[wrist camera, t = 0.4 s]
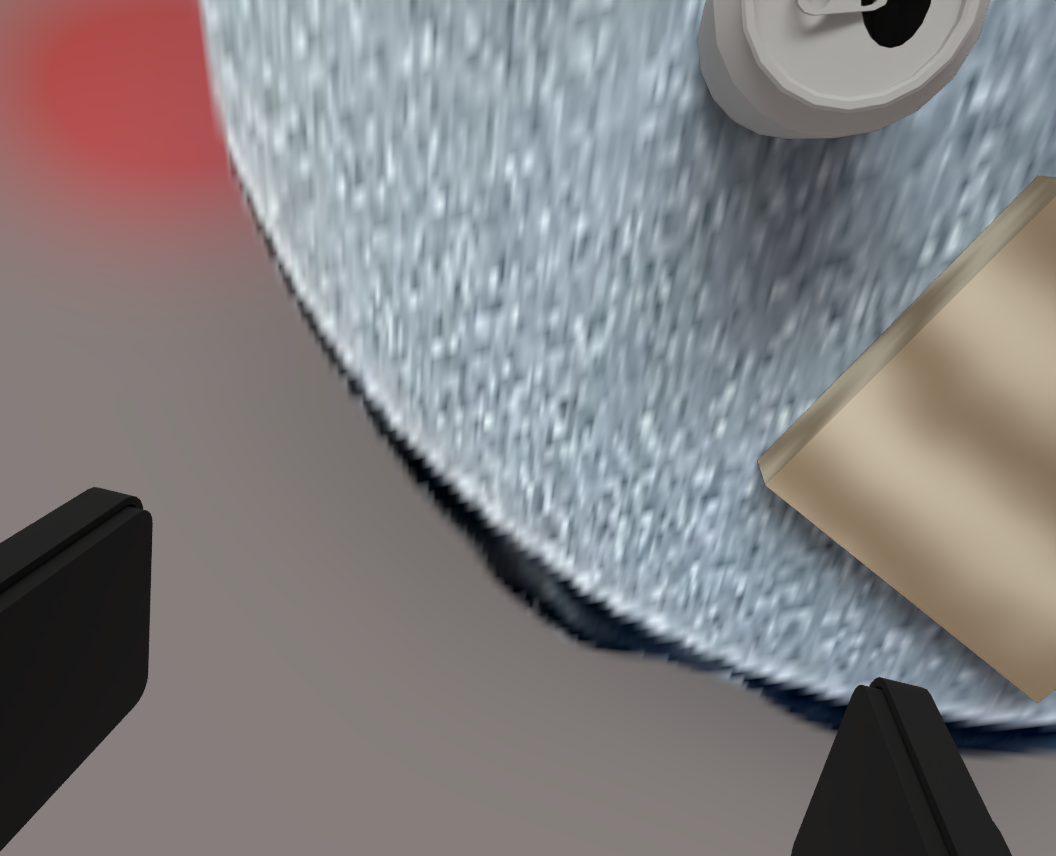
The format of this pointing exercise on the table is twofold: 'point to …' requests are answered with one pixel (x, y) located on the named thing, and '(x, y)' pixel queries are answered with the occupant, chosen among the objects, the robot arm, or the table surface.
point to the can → (832, 60)
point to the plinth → (952, 448)
